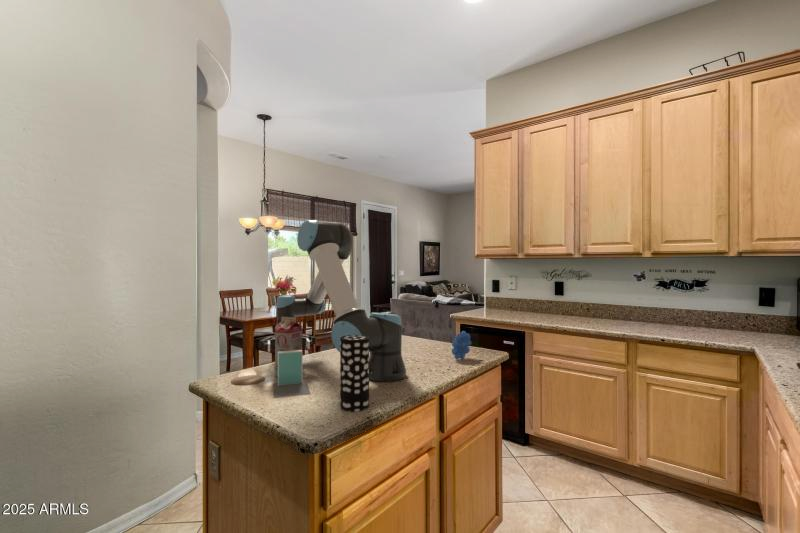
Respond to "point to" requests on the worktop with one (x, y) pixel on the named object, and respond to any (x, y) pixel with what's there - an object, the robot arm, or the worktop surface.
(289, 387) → the mat
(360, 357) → the spotted tube
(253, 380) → the coaster
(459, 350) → the grapes
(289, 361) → the tile
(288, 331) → the juice carton
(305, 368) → the worktop surface
